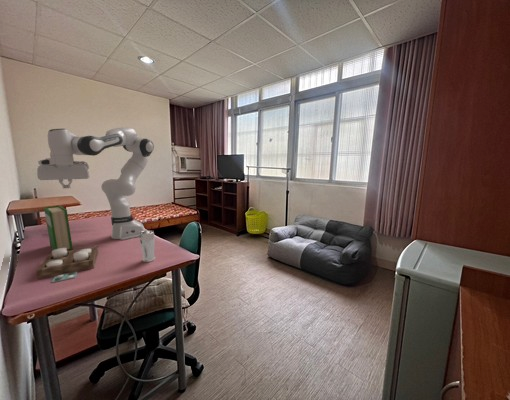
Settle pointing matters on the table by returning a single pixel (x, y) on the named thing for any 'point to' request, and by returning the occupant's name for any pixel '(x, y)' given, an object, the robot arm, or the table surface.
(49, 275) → the wooden compartment tray
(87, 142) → the robot arm
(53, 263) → the button
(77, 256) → the button
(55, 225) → the hardback book
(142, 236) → the beer glass
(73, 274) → the card
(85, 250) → the button
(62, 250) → the button
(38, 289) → the table surface
